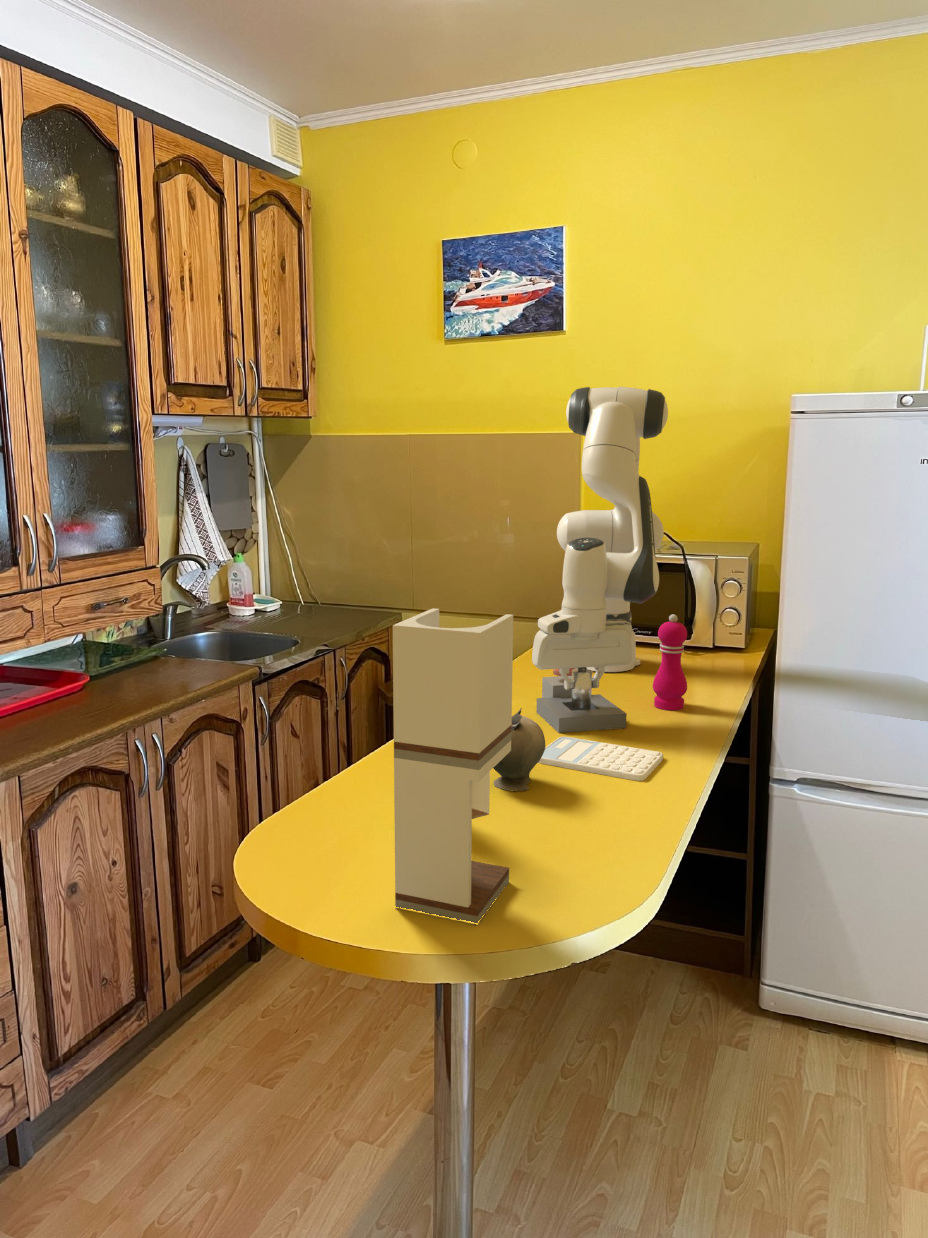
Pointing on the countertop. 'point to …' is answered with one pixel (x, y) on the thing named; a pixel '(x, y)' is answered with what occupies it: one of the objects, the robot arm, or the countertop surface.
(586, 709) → the grey stepped block frame
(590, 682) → the cell
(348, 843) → the countertop surface
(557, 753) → the calculator
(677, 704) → the pepper mill
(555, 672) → the plunger
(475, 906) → the beige stacked box tower
